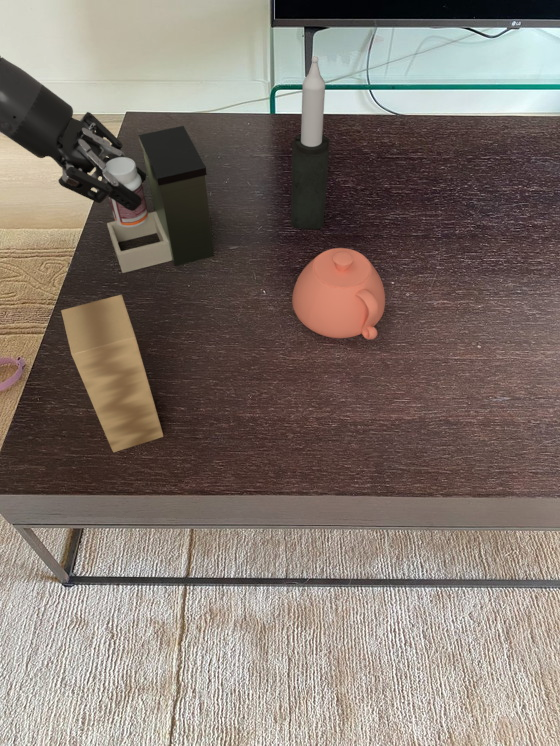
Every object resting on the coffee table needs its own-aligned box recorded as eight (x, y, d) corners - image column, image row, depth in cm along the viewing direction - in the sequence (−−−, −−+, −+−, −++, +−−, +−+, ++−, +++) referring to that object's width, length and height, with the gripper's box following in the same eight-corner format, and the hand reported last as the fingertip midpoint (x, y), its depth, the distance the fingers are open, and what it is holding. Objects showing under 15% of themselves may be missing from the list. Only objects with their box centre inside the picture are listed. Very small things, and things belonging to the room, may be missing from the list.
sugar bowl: (347, 271, 90) (354, 213, 82) (408, 333, 82) (422, 277, 74) (275, 303, 86) (274, 246, 78) (332, 371, 79) (338, 317, 70)
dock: (122, 273, 89) (117, 255, 87) (111, 241, 94) (106, 222, 91) (172, 260, 91) (168, 242, 88) (159, 229, 95) (155, 211, 92)
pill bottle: (155, 214, 88) (146, 162, 81) (133, 233, 85) (121, 180, 79) (129, 203, 89) (118, 150, 83) (107, 220, 87) (93, 168, 80)
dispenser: (173, 267, 90) (157, 178, 78) (155, 224, 96) (138, 134, 84) (215, 256, 92) (206, 167, 79) (195, 214, 97) (183, 125, 85)
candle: (293, 206, 99) (296, 45, 79) (325, 209, 98) (336, 47, 78) (290, 227, 95) (292, 65, 76) (323, 230, 95) (334, 67, 75)
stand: (113, 452, 71) (71, 354, 57) (102, 412, 75) (60, 310, 60) (163, 436, 73) (135, 336, 58) (151, 397, 76) (121, 294, 62)
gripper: (24, 120, 68) (151, 210, 78) (50, 58, 77) (162, 145, 86) (-8, 163, 72) (117, 243, 82) (21, 99, 81) (130, 178, 90)
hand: (139, 192), depth 84 cm, fingers closed on pill bottle, 4 cm apart
